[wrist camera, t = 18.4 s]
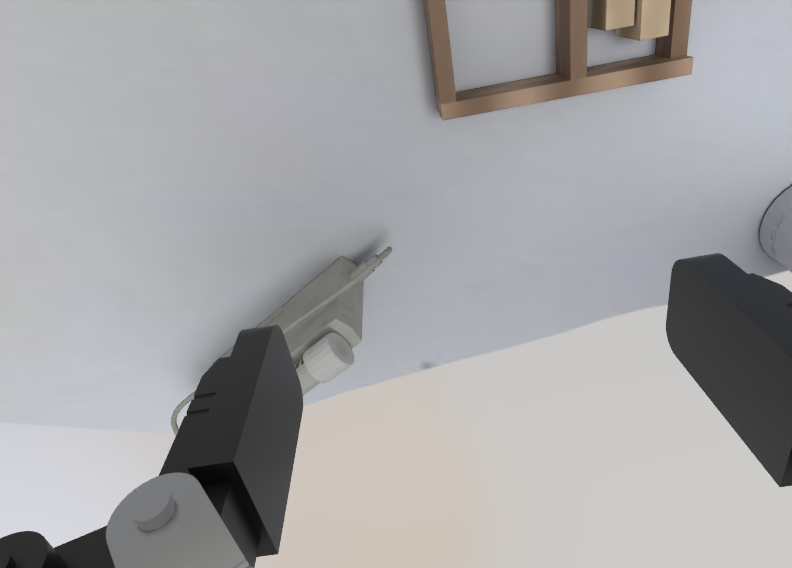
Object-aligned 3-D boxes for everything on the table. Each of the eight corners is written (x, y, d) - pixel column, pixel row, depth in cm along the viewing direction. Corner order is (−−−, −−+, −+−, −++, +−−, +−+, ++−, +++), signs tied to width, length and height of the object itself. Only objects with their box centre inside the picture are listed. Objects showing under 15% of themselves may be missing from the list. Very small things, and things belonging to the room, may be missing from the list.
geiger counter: (206, 492, 46) (424, 336, 38) (144, 456, 44) (364, 280, 36) (240, 385, 58) (411, 249, 50) (193, 352, 56) (366, 203, 48)
